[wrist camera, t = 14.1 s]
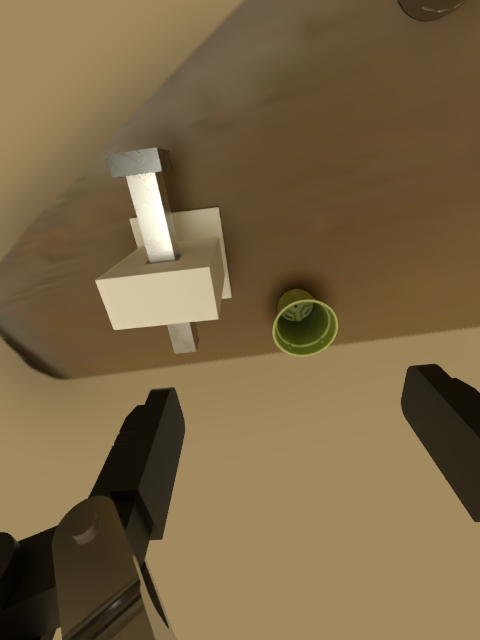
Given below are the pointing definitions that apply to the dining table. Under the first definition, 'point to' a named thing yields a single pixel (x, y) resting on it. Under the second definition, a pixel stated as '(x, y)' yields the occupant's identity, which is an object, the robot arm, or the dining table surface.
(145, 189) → the shaft
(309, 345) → the plant pot
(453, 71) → the dining table surface
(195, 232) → the bracket
